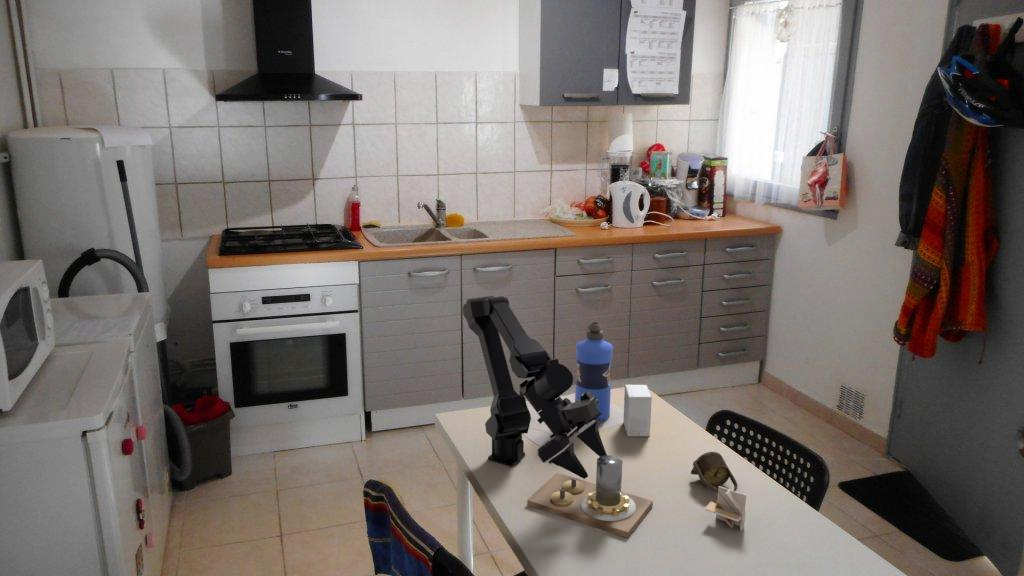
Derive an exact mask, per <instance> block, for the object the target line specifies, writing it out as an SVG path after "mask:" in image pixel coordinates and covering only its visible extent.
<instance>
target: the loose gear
mask: <svg viewBox="0 0 1024 576" xmlns="http://www.w3.org/2000/svg"><path fill="white" fill-rule="evenodd" d="M595 473H596V474H595V475H596V476H595V478H596V479H595V484H596V492H595V493H589V494H588V495H587V500H588V501H587V508H588V509H593V510H594V511H596V514H597V515H600V516H602V515H603V514H606V515H612V516H613V517H616V516H618V514H619V513H621V512H623V511H624V512H627V511H628V510H629V497H628V496H623V495H622V494H621V492H622V477H623V460H622V459H621V458H620V457H618V456H615V455H609V454H607V455H605V456H601V457H600V456H598V457H597V459H596V472H595Z"/></svg>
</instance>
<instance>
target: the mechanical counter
mask: <svg viewBox="0 0 1024 576" xmlns="http://www.w3.org/2000/svg"><path fill="white" fill-rule="evenodd" d="M690 475H693V476H694V475H698V478H699V479H700V481H701V483H702V485H703V486H705V487H706V488H707V489H709V490H711V491H712V492H714V493H716V494H718V488H717V487H718V486H720V487H721V486H722V485H724V484H726V483H727V482H728V480H729V479H730V482H731V483H732V484H733V487H734V488H733V491H736V492H737V490H738V483H737V480H736V478H735V477H734V475H733V473H732V471H731V470H730V469H729V466H728V465H727V463H726V461H725V458H724V457H723V456H722V455H721V453H719V452H717V451H708V452H704V453H703V454H700V456H698V458H696V459H695V460H694V461H693V463H692V469H691V471H690ZM717 498H718V495H717V496H716V499H717Z"/></svg>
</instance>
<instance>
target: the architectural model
mask: <svg viewBox="0 0 1024 576" xmlns="http://www.w3.org/2000/svg"><path fill="white" fill-rule="evenodd" d="M717 489H718V493H717V496H718V498H717V497H716V499H717V500H715V502H714V501H709V503H708V504H707V505H706V506H705V507H704V511H705V512H709V513H712V514H715V518H716V519H718V520H721V521H725V522H726V524H727V525H728V527H729V528H731V529H733V527H734V526H738V527H739V532H742V531H743V529H744V528H745V523H746V522H745V521H746V512H747V511H746V503H747V502H746V501H747V494H745V493H742V492H738V491H737V490H736V491H733V490H734V489H733V490H732V489H730V488H726V487H723V486H721V485H720V486H718V488H717Z"/></svg>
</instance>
